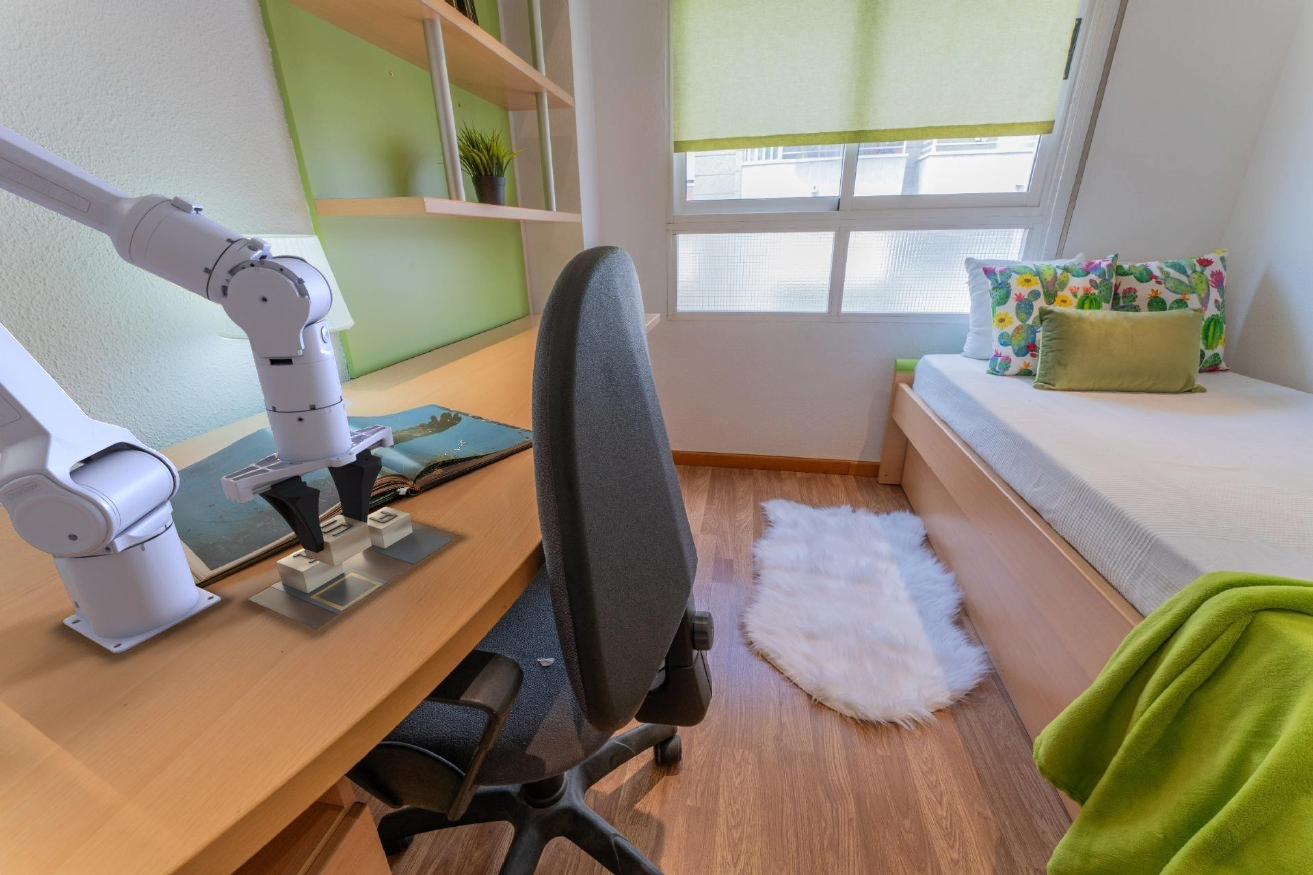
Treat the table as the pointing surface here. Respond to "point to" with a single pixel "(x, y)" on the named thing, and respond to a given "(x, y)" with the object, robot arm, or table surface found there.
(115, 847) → the table surface
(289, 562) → the tile
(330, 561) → the tile
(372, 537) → the tile
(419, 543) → the letter board
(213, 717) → the table surface
